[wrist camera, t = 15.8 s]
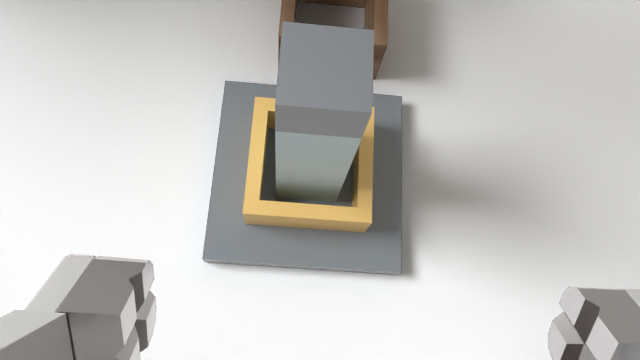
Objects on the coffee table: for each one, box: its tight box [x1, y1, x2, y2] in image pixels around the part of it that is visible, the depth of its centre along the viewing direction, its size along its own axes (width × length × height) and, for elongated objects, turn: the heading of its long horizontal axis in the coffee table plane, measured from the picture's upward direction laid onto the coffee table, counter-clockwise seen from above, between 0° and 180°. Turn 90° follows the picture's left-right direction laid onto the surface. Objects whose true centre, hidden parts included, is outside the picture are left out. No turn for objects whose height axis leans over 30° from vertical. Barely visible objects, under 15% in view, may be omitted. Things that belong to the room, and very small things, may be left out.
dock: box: [202, 81, 402, 275], centre depth 37 cm, size 14×14×4 cm
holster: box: [278, 0, 388, 79], centre depth 41 cm, size 8×8×5 cm
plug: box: [275, 21, 374, 202], centre depth 30 cm, size 4×4×15 cm
